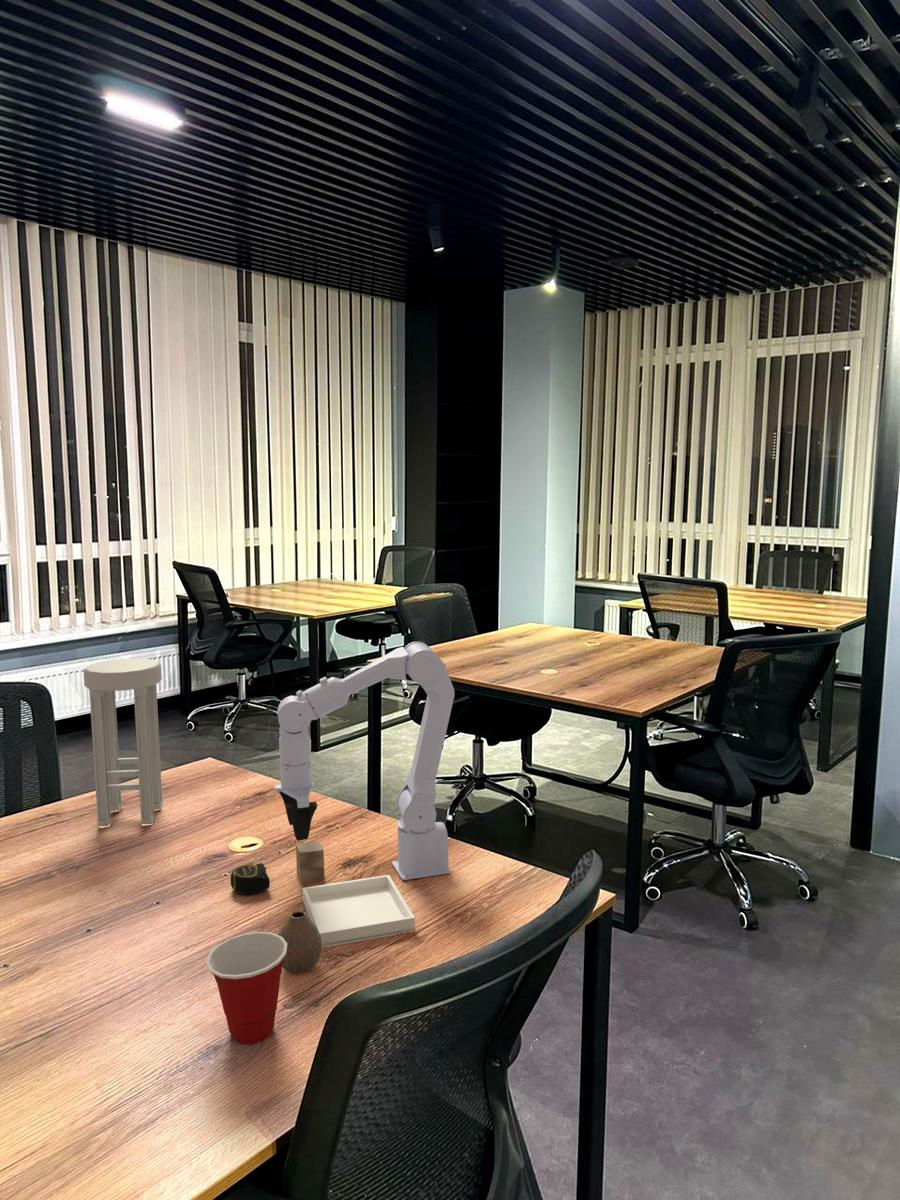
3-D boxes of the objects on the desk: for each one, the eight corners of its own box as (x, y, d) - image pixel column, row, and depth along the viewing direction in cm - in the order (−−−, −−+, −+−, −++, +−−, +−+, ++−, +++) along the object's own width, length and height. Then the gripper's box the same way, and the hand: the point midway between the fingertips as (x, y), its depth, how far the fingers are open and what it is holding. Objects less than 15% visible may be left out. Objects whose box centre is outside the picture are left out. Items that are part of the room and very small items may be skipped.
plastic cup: (207, 1016, 125) (203, 937, 123) (284, 1002, 128) (282, 924, 126) (211, 1065, 114) (207, 978, 113) (295, 1048, 118) (292, 964, 116)
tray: (389, 887, 164) (388, 874, 163) (415, 931, 148) (414, 917, 147) (302, 901, 159) (302, 887, 158) (320, 948, 143) (319, 933, 142)
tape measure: (270, 894, 162) (270, 875, 161) (232, 900, 159) (231, 880, 159) (266, 879, 168) (266, 860, 167) (229, 884, 166) (228, 865, 165)
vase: (329, 959, 139) (328, 907, 138) (309, 983, 133) (307, 928, 132) (291, 952, 142) (289, 900, 140) (268, 975, 135) (266, 921, 134)
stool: (105, 806, 205) (96, 658, 200) (173, 803, 207) (166, 656, 202) (85, 832, 190) (74, 673, 185) (159, 829, 192) (150, 671, 187)
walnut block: (320, 870, 171) (319, 840, 171) (324, 880, 167) (323, 849, 166) (296, 873, 170) (295, 843, 169) (300, 883, 166) (299, 853, 165)
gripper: (268, 752, 169) (271, 820, 171) (279, 776, 155) (282, 849, 157) (305, 748, 171) (307, 815, 173) (319, 771, 158) (322, 843, 160)
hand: (298, 831), depth 165 cm, fingers open, 7 cm apart
